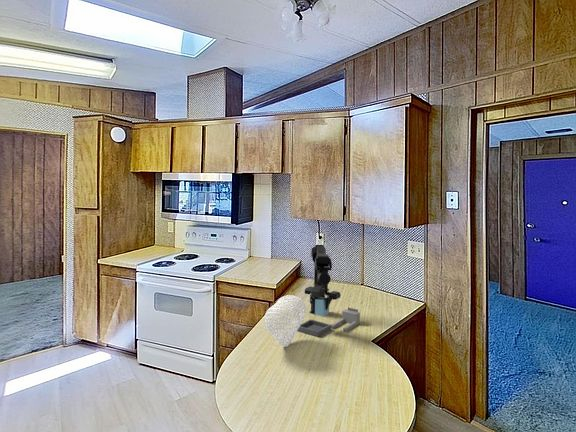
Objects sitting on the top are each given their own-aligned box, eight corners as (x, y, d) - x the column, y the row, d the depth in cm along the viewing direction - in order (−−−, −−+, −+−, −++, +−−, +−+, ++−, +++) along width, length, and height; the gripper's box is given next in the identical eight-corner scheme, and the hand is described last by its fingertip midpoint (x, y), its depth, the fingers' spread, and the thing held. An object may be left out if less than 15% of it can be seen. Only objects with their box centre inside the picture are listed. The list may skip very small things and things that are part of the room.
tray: (296, 331, 181) (297, 326, 181) (310, 323, 191) (310, 319, 191) (318, 337, 173) (318, 332, 173) (330, 329, 184) (330, 324, 183)
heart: (278, 333, 178) (279, 290, 177) (308, 336, 173) (308, 293, 172) (259, 357, 151) (260, 307, 150) (293, 362, 147) (294, 310, 145)
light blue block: (314, 314, 180) (315, 297, 180) (320, 311, 185) (320, 295, 184) (323, 316, 177) (323, 299, 177) (328, 313, 182) (329, 296, 182)
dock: (330, 328, 185) (330, 315, 185) (345, 319, 200) (346, 306, 199) (345, 332, 180) (346, 318, 180) (360, 322, 194) (360, 310, 194)
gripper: (299, 279, 179) (298, 309, 180) (331, 285, 168) (330, 317, 169) (310, 275, 188) (309, 303, 189) (341, 281, 177) (340, 310, 178)
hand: (321, 308), depth 181 cm, fingers closed on light blue block, 5 cm apart
